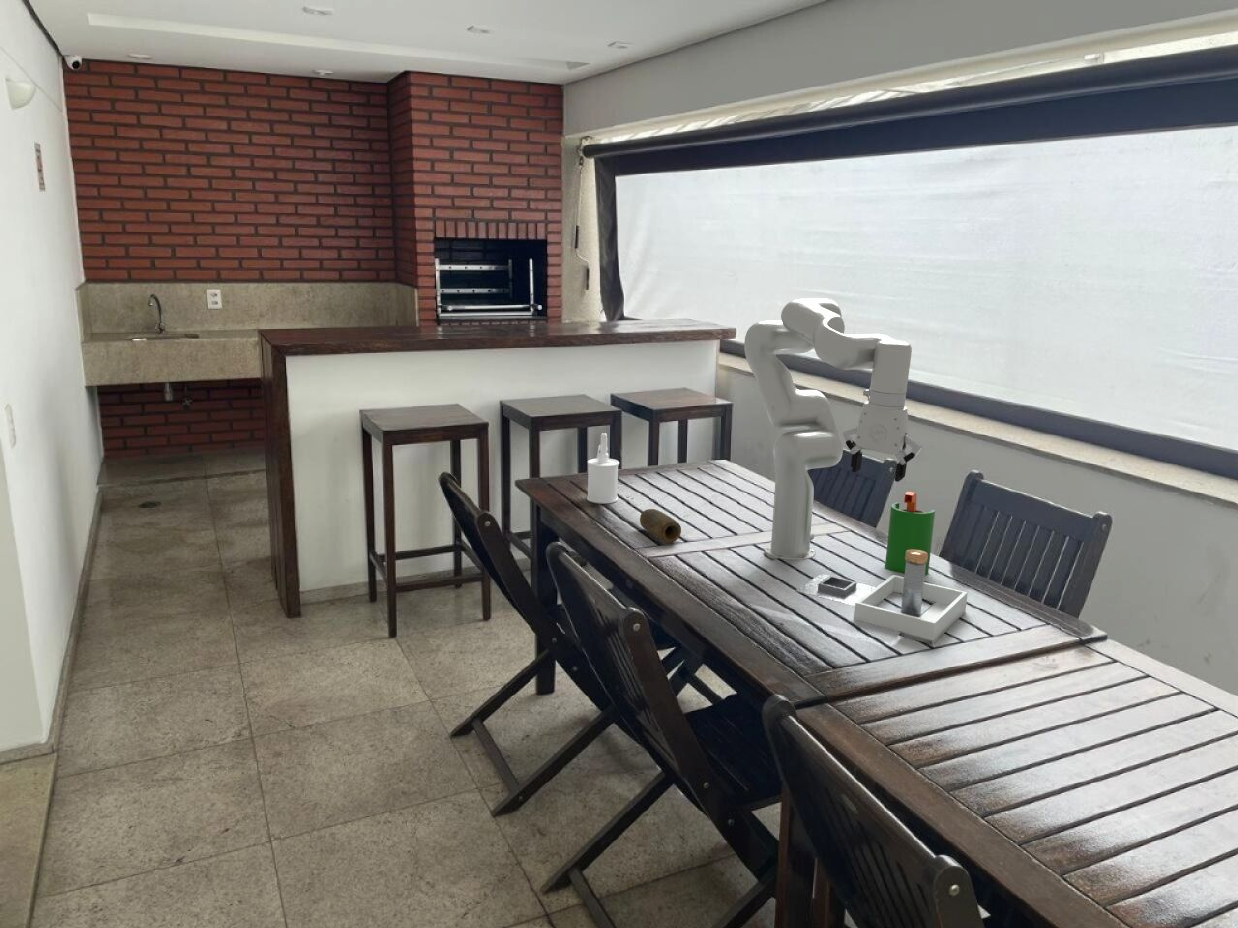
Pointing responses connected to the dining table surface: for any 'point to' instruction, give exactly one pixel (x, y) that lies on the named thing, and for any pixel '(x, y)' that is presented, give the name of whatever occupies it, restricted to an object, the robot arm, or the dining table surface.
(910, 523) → the motor
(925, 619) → the bin
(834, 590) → the socket plate
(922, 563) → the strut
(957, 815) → the dining table surface
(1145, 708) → the dining table surface
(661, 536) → the stone weight
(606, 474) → the white spout bottle
